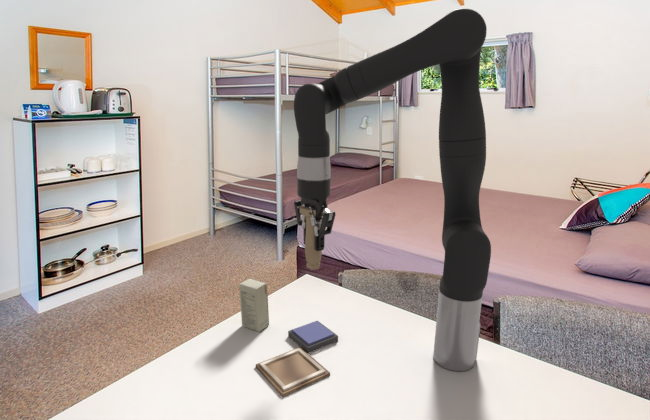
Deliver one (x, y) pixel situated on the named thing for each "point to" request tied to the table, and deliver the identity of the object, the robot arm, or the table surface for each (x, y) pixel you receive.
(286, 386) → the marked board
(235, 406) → the table surface
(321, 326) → the ink pad
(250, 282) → the skincare box
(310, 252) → the handle
